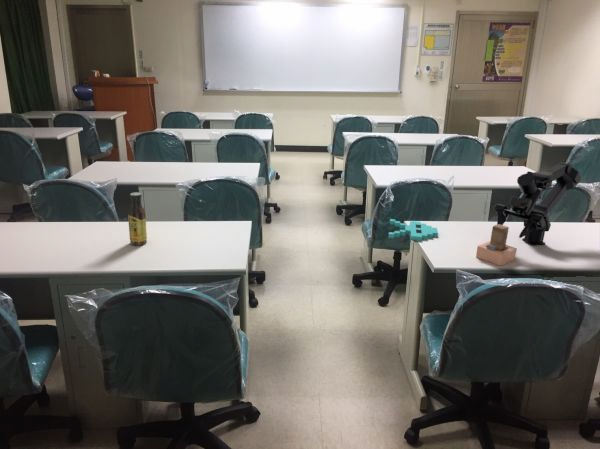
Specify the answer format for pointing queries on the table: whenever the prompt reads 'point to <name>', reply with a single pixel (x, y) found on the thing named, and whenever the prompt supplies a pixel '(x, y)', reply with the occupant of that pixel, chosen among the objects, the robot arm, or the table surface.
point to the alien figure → (413, 230)
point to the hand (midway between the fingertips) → (508, 233)
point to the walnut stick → (499, 237)
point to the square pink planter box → (496, 254)
